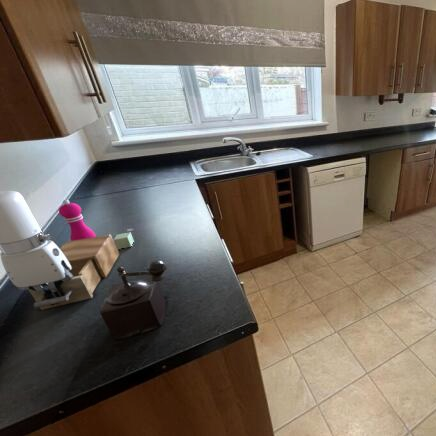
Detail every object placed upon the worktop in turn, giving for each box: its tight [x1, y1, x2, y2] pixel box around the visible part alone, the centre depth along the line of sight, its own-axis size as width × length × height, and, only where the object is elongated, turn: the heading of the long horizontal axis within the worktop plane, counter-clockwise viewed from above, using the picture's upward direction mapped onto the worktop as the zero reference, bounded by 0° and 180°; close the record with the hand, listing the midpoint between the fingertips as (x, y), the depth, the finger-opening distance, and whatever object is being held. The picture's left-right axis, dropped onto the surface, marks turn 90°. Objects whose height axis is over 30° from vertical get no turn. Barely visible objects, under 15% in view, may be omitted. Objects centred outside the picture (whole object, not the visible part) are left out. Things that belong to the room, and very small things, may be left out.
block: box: [113, 231, 135, 250], centre depth 104 cm, size 4×4×4 cm
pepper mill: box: [58, 199, 97, 241], centre depth 101 cm, size 7×7×20 cm
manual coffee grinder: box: [99, 260, 167, 341], centre depth 67 cm, size 16×11×18 cm
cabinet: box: [59, 234, 120, 279], centre depth 88 cm, size 15×13×10 cm
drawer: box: [28, 258, 103, 310], centre depth 77 cm, size 18×11×8 cm, turn 21°
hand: (58, 301), depth 72 cm, fingers closed
